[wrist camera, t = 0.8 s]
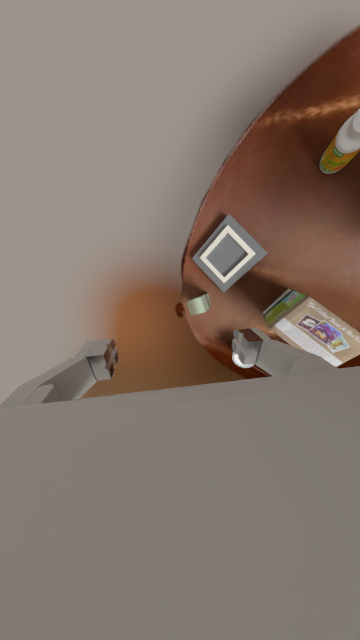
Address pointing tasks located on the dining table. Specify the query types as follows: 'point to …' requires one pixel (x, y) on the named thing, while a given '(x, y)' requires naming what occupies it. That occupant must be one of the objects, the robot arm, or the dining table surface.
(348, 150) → the supplement bottle
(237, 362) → the white cup
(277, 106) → the dining table surface
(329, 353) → the tea box
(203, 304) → the green block
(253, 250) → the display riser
